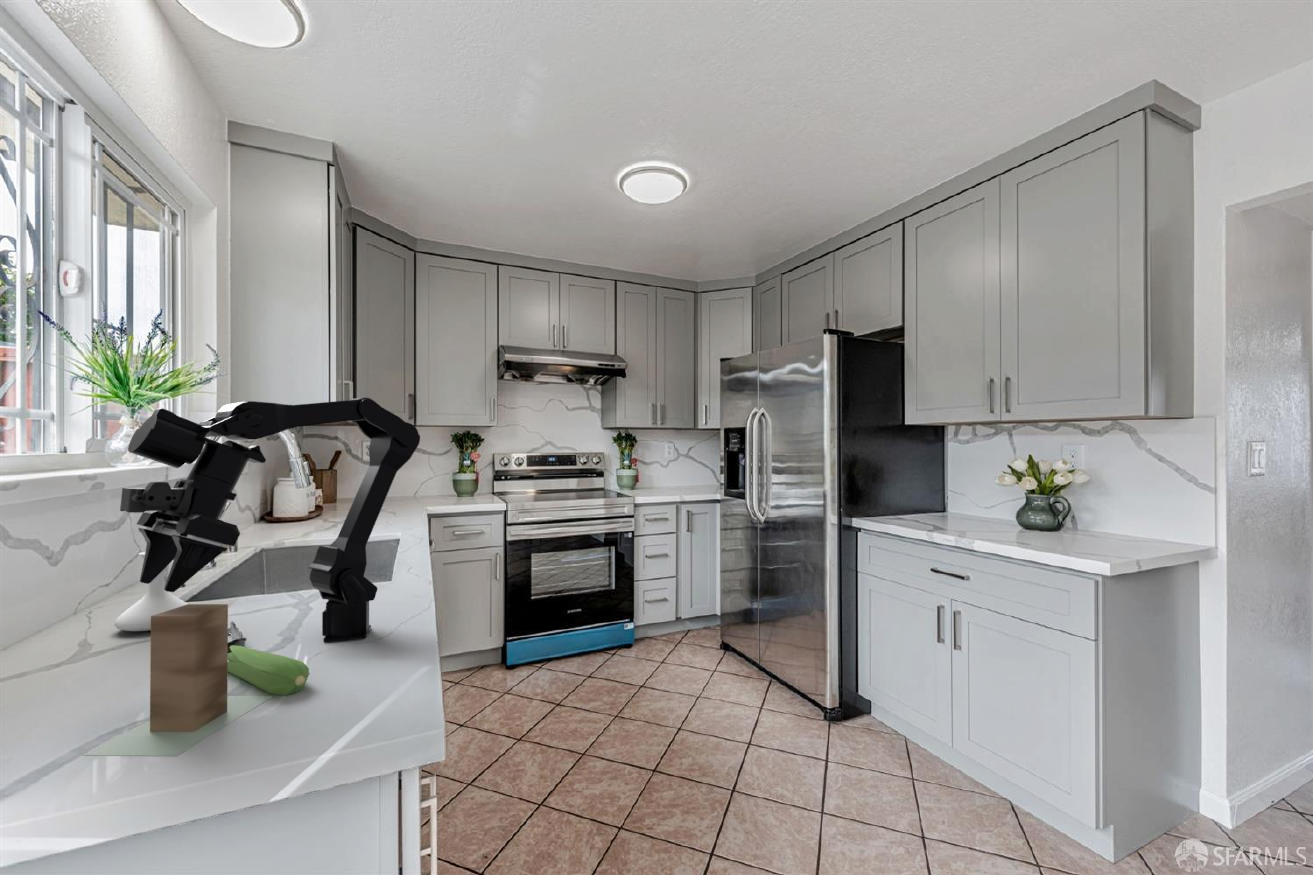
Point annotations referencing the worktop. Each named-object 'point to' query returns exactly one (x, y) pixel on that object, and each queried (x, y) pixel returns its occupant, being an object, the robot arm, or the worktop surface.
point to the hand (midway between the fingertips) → (156, 587)
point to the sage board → (175, 733)
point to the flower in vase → (148, 606)
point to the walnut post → (188, 667)
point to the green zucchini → (267, 670)
